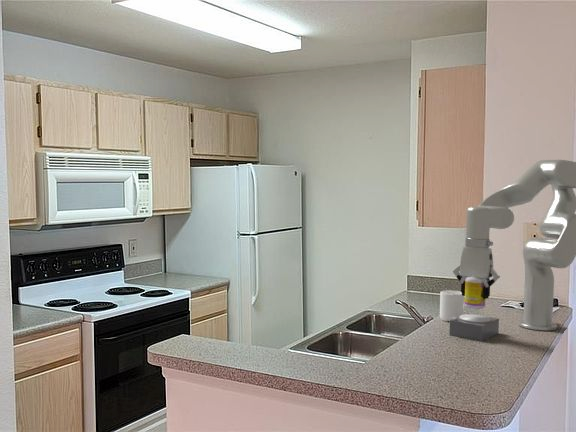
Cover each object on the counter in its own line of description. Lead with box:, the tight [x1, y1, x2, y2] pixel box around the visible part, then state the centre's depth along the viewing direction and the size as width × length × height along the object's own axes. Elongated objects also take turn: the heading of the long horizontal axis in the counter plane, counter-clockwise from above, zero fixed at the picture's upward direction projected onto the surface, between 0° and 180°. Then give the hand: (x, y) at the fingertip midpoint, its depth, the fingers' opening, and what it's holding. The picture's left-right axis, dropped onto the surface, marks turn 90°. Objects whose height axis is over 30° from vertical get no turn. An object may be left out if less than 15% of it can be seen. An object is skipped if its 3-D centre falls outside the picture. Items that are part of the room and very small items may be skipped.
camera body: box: [449, 313, 500, 342], centre depth 196 cm, size 14×11×6 cm
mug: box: [439, 290, 467, 323], centre depth 217 cm, size 12×8×10 cm
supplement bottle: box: [464, 271, 486, 310], centre depth 195 cm, size 7×7×13 cm
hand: (475, 296), depth 195 cm, fingers closed on supplement bottle, 6 cm apart
